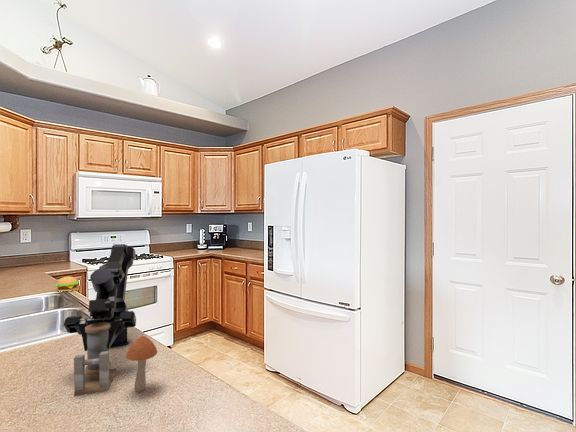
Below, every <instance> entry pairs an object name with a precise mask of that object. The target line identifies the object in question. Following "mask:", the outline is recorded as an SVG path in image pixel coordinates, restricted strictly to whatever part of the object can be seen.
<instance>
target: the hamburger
mask: <svg viewBox="0 0 576 432" xmlns="http://www.w3.org/2000/svg"><path fill="white" fill-rule="evenodd" d="M79 284H80V282H79V281H78V279H77V278H76V277H75V276H74V277H73V276H72V275H71V276H69V275H68V276H63V277H61V278H59V279H58V280H57V282H56V283H55V286H56V290H57V292H58V291H70V290H71V292H74V291H76V290H78V286H79ZM72 290H73V291H72Z"/></svg>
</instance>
